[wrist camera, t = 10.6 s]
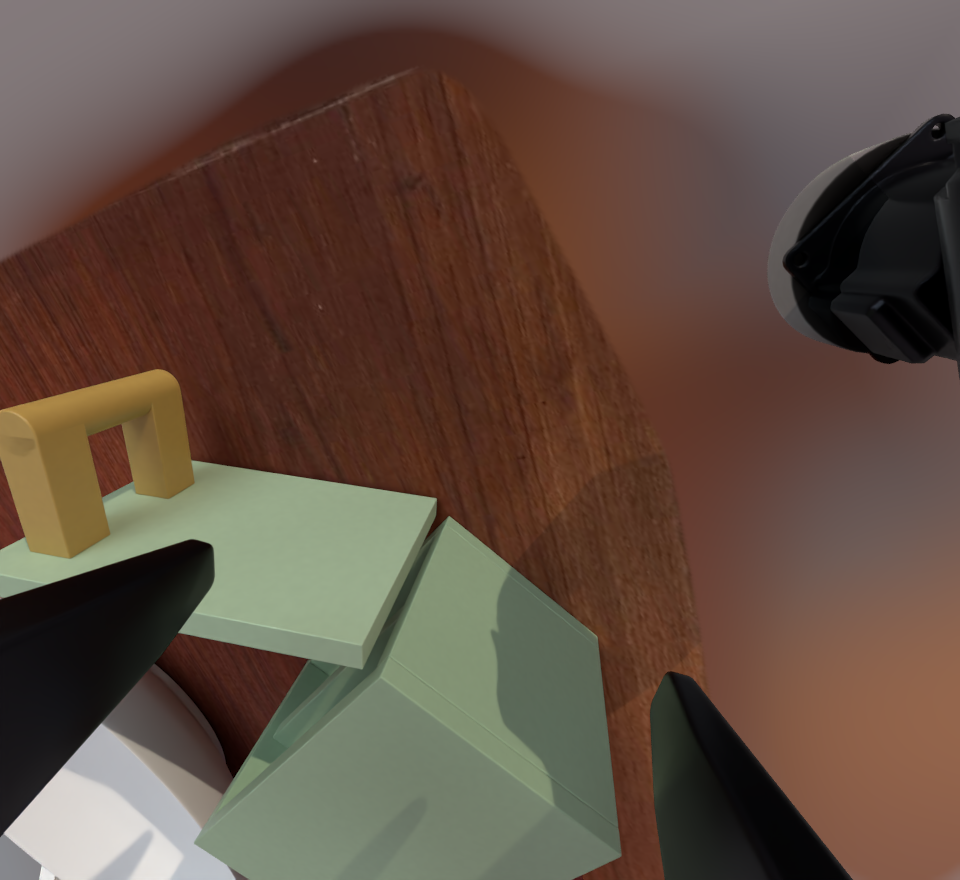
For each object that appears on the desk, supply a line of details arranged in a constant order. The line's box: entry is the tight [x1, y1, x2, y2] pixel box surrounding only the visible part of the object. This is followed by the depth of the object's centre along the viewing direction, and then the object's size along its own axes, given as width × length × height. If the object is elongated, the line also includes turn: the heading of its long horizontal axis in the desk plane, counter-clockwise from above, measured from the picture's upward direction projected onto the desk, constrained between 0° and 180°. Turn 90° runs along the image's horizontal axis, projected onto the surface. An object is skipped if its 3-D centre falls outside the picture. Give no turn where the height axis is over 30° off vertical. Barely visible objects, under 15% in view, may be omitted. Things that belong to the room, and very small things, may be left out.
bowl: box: [0, 598, 249, 880], centre depth 29 cm, size 30×15×6 cm, turn 27°
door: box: [0, 369, 437, 669], centre depth 18 cm, size 6×14×9 cm, turn 85°
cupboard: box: [194, 516, 621, 880], centre depth 21 cm, size 10×14×10 cm
